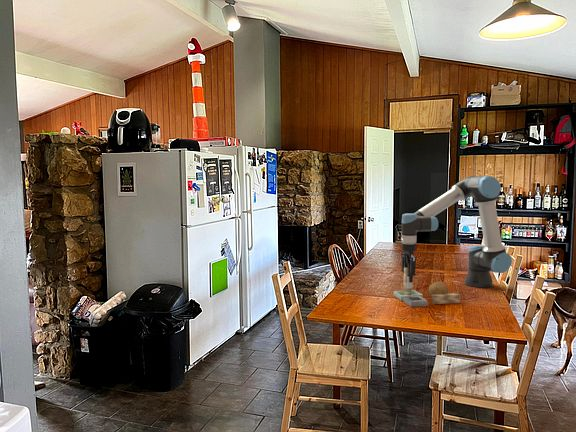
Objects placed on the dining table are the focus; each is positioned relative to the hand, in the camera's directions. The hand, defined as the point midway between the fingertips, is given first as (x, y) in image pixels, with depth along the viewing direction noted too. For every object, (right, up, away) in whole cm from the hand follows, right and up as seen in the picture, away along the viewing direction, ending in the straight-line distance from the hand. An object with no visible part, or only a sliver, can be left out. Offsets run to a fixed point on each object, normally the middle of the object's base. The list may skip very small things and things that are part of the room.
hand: (408, 286), depth 240 cm
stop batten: (+17, -6, -9) cm, 20 cm away
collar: (+1, -7, -10) cm, 12 cm away
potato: (+15, -6, -1) cm, 17 cm away
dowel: (0, -4, 0) cm, 4 cm away
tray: (0, -6, +1) cm, 6 cm away
